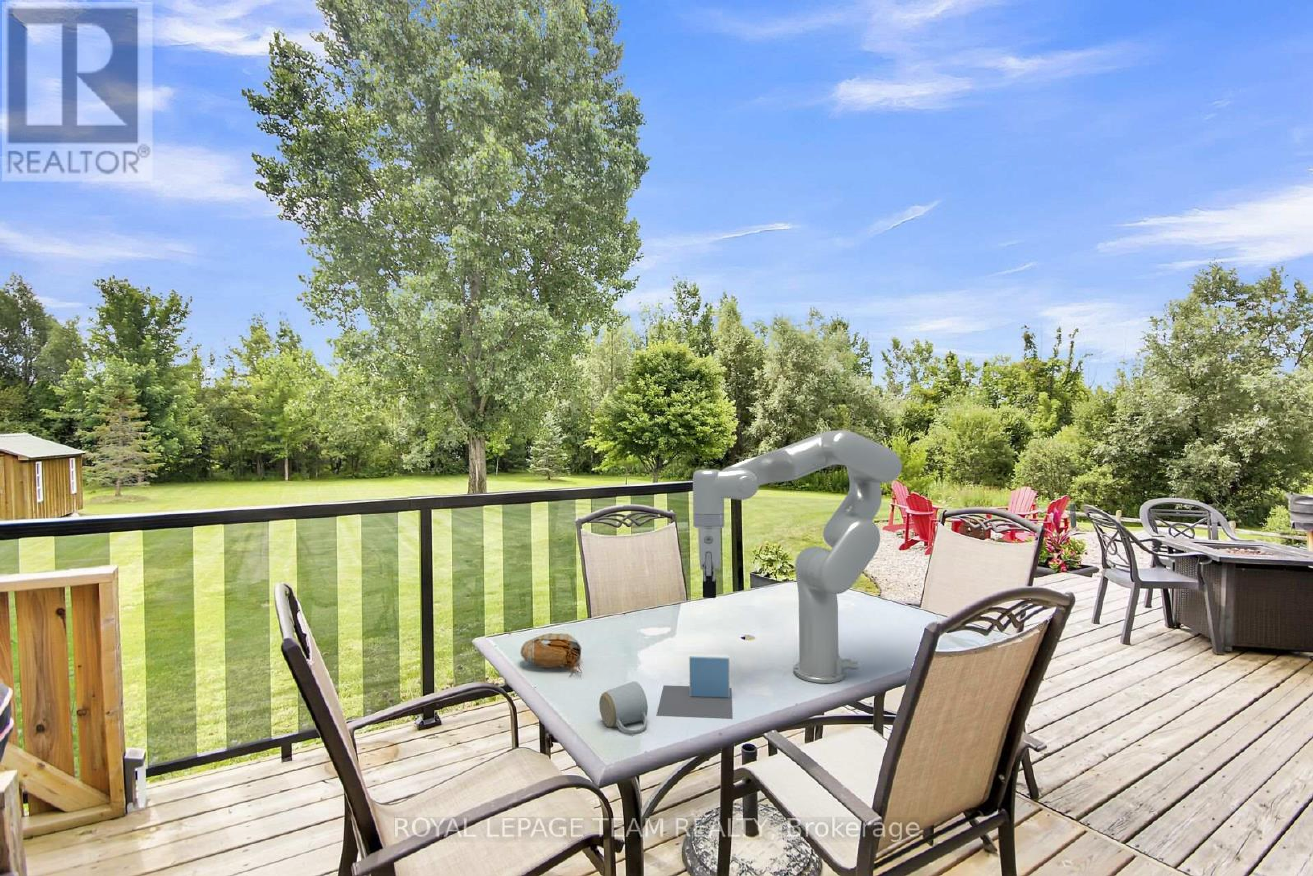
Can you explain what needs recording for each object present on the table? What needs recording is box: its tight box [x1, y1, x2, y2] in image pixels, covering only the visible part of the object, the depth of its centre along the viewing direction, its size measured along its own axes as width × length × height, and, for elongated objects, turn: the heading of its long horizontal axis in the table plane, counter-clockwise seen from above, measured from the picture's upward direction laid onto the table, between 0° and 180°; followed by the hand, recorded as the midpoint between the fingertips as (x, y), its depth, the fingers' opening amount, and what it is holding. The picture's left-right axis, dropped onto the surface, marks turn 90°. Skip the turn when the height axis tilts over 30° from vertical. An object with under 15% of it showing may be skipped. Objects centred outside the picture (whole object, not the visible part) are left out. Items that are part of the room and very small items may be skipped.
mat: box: [656, 684, 734, 720], centre depth 132 cm, size 16×16×1 cm
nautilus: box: [520, 633, 583, 677], centre depth 155 cm, size 8×22×15 cm
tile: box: [688, 653, 731, 698], centre depth 135 cm, size 9×2×9 cm, turn 84°
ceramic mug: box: [598, 681, 649, 737], centre depth 122 cm, size 11×8×8 cm
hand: (709, 596), depth 143 cm, fingers closed
